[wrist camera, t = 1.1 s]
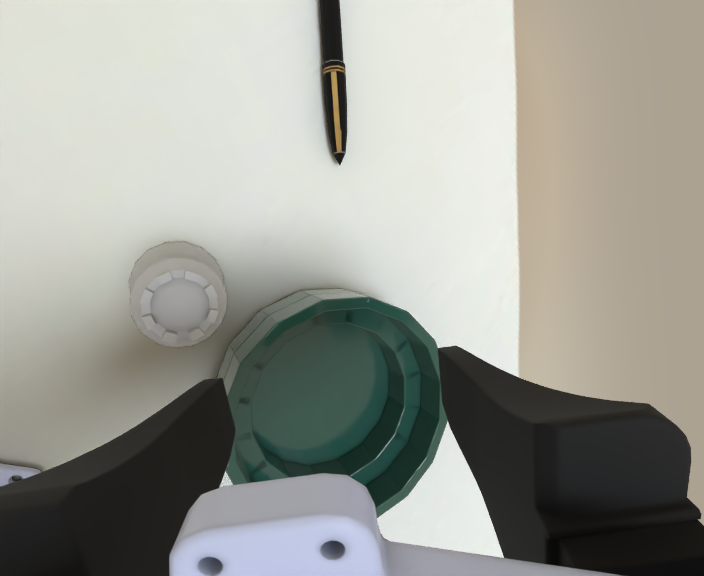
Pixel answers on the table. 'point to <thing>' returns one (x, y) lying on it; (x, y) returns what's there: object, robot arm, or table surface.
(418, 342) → the green faceted bowl
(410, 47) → the table surface
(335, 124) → the fountain pen
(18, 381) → the table surface
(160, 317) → the rook chess piece
